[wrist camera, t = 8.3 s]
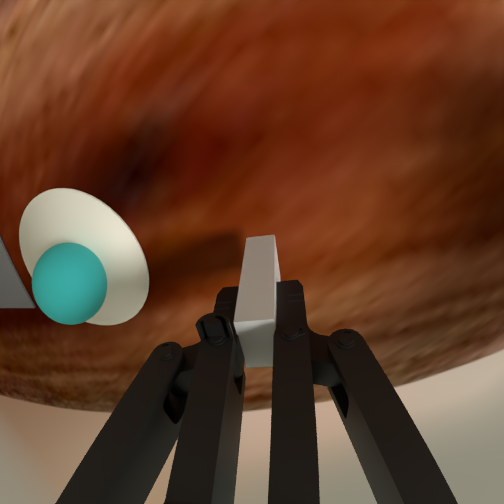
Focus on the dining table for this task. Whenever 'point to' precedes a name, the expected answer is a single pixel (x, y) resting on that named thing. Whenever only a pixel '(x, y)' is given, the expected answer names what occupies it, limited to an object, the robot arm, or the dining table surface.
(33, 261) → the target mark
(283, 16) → the dining table surface
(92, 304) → the ball
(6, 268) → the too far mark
